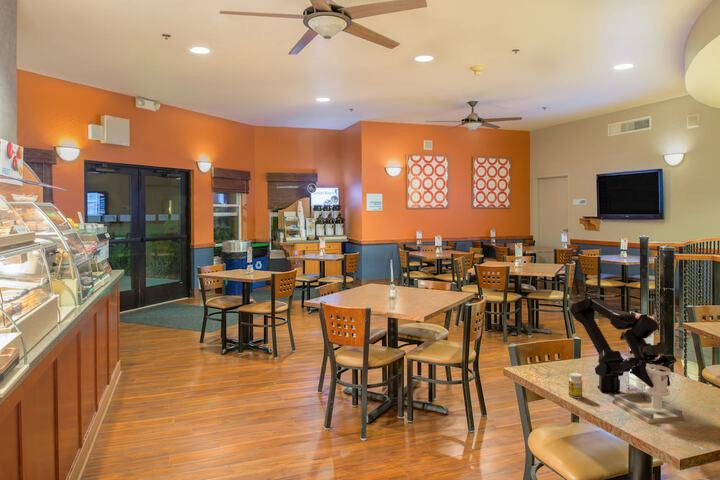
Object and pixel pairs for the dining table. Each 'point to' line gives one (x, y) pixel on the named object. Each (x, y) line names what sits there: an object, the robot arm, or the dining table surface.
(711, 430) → the dining table surface
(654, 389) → the beige tall round piece
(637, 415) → the rail board
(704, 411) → the dining table surface
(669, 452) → the dining table surface
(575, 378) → the supplement bottle
